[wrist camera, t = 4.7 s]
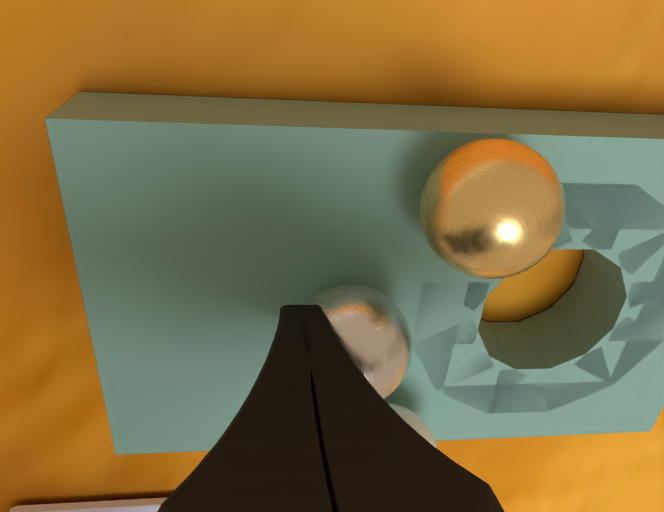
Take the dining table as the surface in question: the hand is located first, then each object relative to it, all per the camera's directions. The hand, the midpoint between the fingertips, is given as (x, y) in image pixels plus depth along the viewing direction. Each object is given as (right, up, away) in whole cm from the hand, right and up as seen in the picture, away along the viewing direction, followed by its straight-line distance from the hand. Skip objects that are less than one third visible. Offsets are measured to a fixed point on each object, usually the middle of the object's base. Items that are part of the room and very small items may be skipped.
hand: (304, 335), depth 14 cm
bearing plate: (+3, +2, +4) cm, 5 cm away
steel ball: (+1, 0, 0) cm, 1 cm away
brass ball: (+4, +3, -1) cm, 6 cm away
